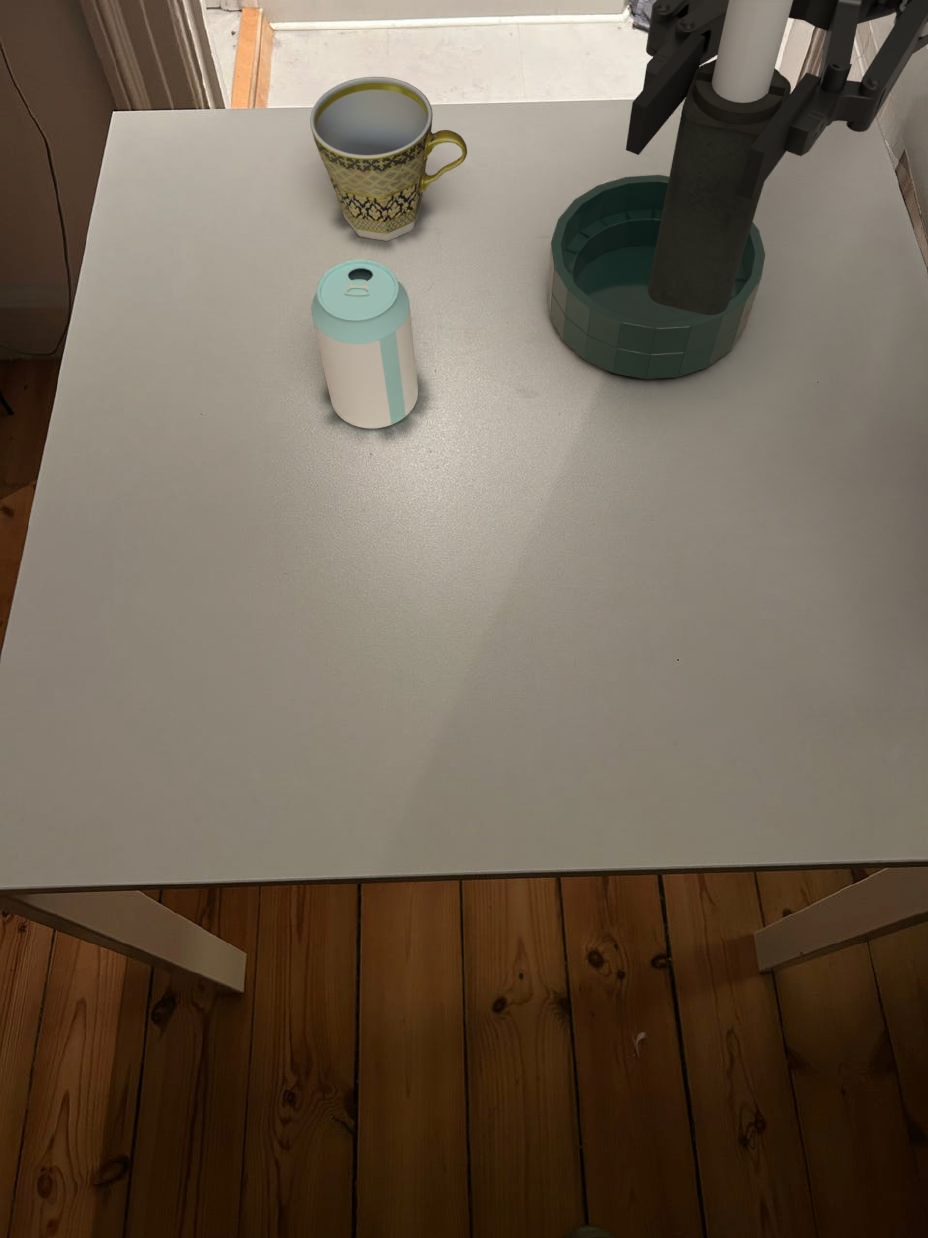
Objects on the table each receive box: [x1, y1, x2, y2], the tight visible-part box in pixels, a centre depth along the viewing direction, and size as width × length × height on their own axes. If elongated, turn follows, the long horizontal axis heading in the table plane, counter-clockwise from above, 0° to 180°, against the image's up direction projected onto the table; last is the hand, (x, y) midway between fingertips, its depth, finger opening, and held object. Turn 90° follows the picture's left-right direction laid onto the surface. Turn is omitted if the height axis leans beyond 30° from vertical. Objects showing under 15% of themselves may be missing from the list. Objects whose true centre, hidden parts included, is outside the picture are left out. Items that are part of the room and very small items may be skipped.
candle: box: [648, 0, 793, 315], centre depth 52 cm, size 5×5×25 cm
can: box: [311, 258, 419, 429], centre depth 75 cm, size 7×7×12 cm
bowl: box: [546, 174, 766, 380], centre depth 81 cm, size 17×17×6 cm
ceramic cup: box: [309, 76, 468, 242], centre depth 85 cm, size 13×10×10 cm
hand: (692, 150), depth 49 cm, fingers closed on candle, 6 cm apart
